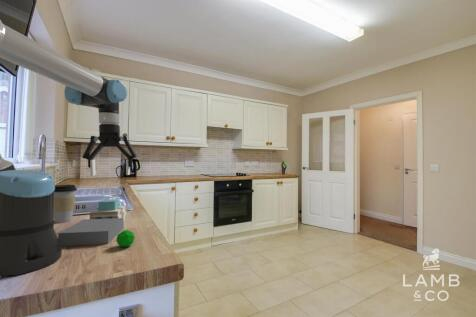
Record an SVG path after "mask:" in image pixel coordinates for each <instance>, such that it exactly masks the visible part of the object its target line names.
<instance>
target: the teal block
mask: <svg viewBox="0 0 476 317" xmlns="http://www.w3.org/2000/svg"><path fill="white" fill-rule="evenodd" d="M120 200H121V199H120V198H107V199H106V198H105V199H102V200H99V201H98V208H99V211H103V210H116V209H117V208H119V207H120V206H121V205H120V203H121V201H120Z"/></svg>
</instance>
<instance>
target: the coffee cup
mask: <svg viewBox="0 0 476 317" xmlns="http://www.w3.org/2000/svg"><path fill="white" fill-rule="evenodd" d="M54 185H55V184H54ZM77 190H78V188H77V187H76V185H75V184H58V185H57V184H56V185H55V190H54V223H56V224H59V223H60V224H61V223H68V222H71V221H73V216H74V210H75V205H76V204H75V201H76V192H77Z"/></svg>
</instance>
